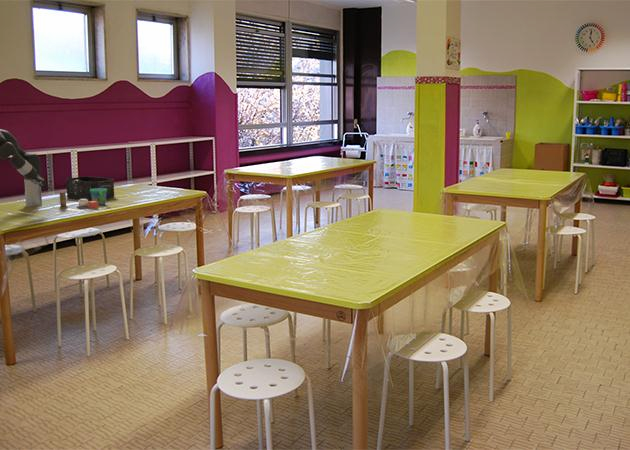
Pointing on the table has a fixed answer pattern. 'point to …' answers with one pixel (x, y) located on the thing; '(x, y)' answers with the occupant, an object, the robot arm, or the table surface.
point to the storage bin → (88, 187)
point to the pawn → (63, 200)
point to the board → (90, 205)
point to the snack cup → (99, 195)
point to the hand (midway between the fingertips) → (46, 187)
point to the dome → (83, 202)
